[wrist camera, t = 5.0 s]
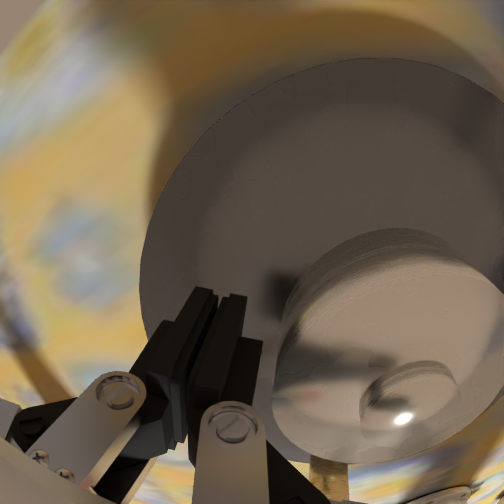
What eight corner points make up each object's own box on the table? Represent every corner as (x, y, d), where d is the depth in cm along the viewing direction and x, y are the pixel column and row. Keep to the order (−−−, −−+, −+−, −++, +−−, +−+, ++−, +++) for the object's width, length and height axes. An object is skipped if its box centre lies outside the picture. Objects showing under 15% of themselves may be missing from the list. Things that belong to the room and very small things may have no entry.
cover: (502, 253, 9) (568, 310, 5) (423, 403, 12) (443, 473, 8) (306, 204, 9) (312, 259, 5) (263, 387, 12) (248, 470, 8)
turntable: (582, 169, 7) (652, 196, 2) (443, 445, 15) (459, 505, 10) (181, 29, 9) (100, -28, 4) (159, 412, 17) (127, 481, 11)
